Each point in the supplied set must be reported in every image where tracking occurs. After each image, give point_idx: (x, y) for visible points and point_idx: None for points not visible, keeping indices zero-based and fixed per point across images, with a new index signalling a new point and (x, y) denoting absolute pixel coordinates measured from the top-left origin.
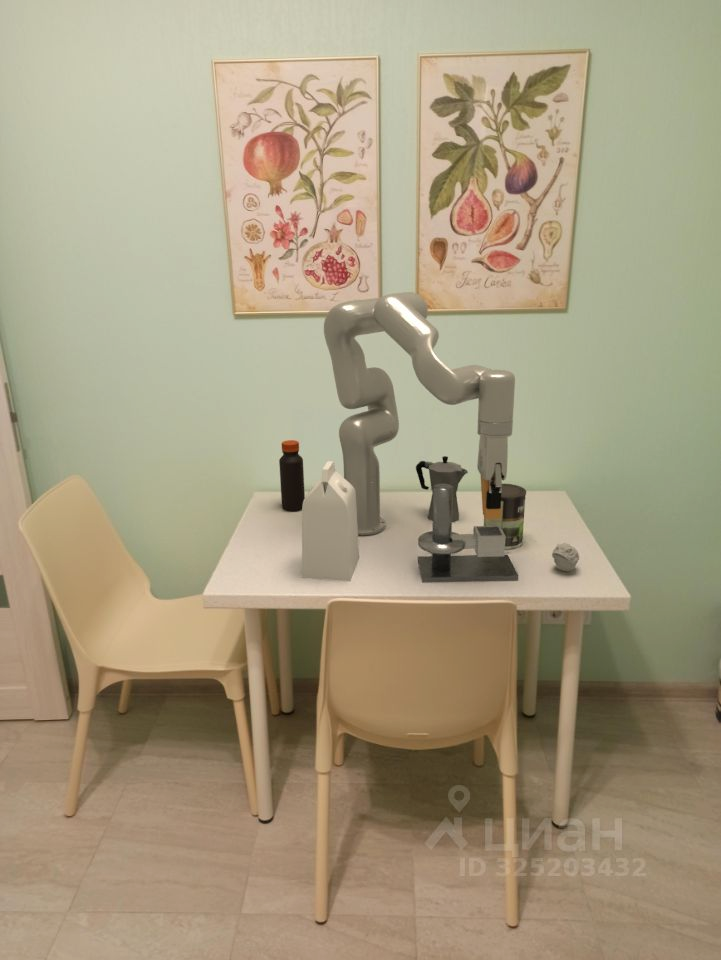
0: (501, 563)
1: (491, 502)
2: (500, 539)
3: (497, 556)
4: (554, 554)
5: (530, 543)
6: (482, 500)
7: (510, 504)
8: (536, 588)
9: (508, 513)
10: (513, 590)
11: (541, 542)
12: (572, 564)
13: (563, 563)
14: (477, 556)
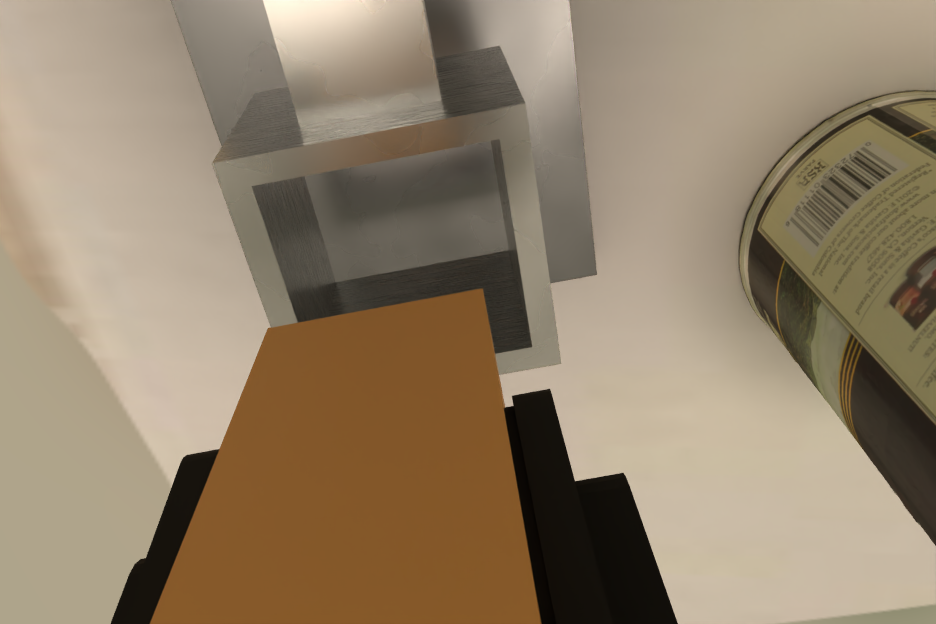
0: (449, 234)
1: (117, 612)
2: None
3: (559, 208)
4: None
5: (816, 388)
6: (454, 411)
7: (930, 498)
8: (216, 401)
9: (879, 422)
10: (147, 286)
11: (823, 441)
12: None
13: None
14: (255, 93)
